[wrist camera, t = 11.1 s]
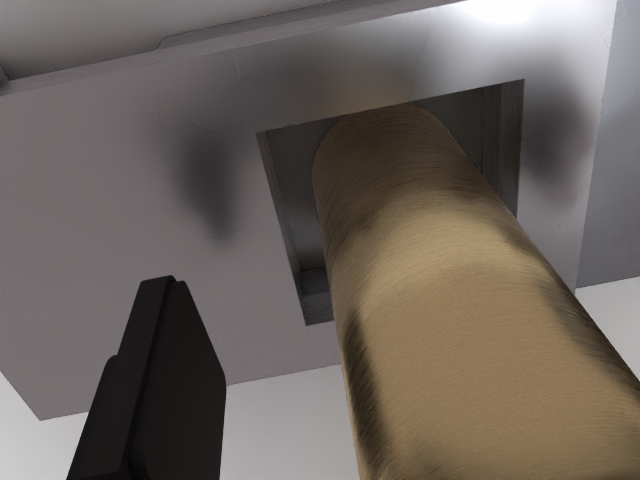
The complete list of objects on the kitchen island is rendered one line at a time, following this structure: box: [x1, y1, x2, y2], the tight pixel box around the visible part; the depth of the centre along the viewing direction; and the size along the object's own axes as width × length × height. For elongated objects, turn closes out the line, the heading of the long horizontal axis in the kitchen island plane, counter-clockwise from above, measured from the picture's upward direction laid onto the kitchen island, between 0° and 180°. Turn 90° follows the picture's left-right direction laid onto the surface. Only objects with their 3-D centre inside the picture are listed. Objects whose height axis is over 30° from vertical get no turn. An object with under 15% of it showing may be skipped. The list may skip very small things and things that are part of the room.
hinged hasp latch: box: [0, 0, 640, 421], centre depth 13 cm, size 22×10×2 cm, turn 100°
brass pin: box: [312, 103, 640, 480], centre depth 10 cm, size 4×4×10 cm
